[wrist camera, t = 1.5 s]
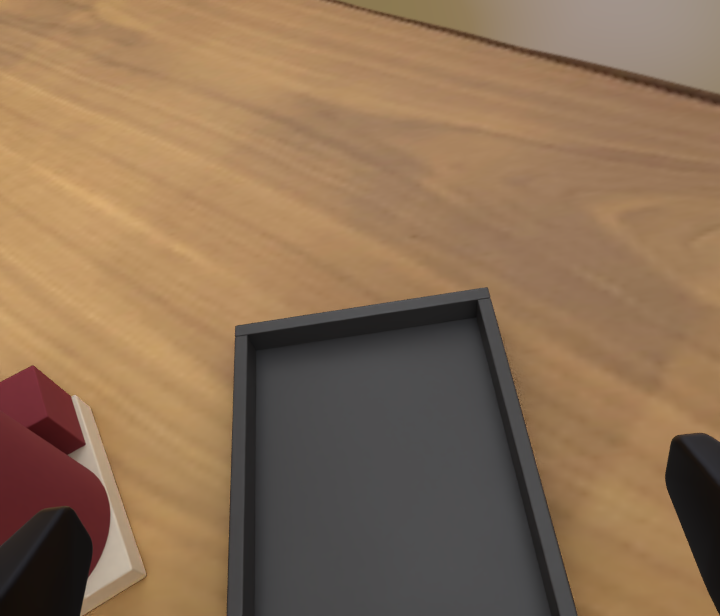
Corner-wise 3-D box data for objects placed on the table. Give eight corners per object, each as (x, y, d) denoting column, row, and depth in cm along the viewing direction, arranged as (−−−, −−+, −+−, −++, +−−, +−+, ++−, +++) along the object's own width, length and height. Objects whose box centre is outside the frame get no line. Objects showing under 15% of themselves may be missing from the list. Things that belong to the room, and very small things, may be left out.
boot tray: (594, 721, 19) (607, 722, 17) (240, 762, 20) (221, 766, 18) (485, 311, 28) (487, 286, 27) (247, 347, 29) (234, 325, 27)
